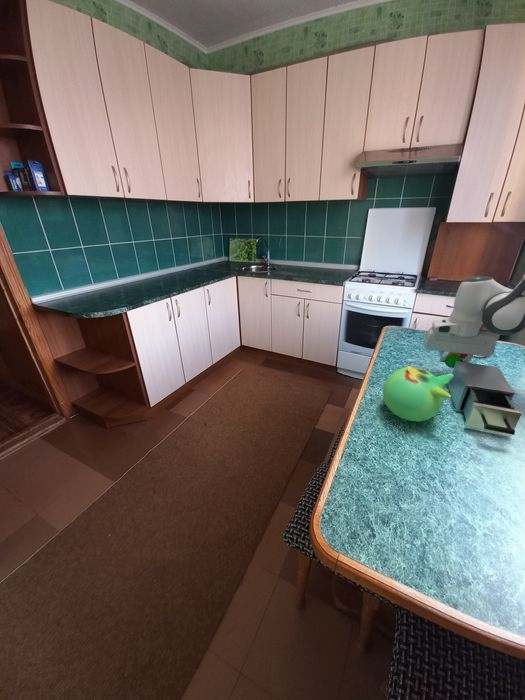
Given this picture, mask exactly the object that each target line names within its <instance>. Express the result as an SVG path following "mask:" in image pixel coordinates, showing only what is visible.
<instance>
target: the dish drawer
mask: <svg viewBox="0 0 525 700" xmlns="http://www.w3.org/2000/svg"><path fill="white" fill-rule="evenodd" d="M461 407H462V409H463V412H462V413H463V415H464V418H465V421H464V428H467V429H472V430H477V431H482V432H489V433H492V434H496V435H500V436H501V435H502V436H505V437H506V436H507V437H512V436H514V435H515V434H516V430H515V429H516V427H517V425H518V423H519V420H520V419H521V416H522V415H523V412H522V410H520V409H515V408H516V407H515V405H514V404H513V402H512V400H510V399H509V397H508V395H507V394H504V393H498V392H492V391H486V390H480V389H474V388H468V389H467V392H466V394H465V397H464V400H463V402H462V405H461Z"/></svg>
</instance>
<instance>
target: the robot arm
mask: <svg viewBox="0 0 525 700" xmlns="http://www.w3.org/2000/svg"><path fill="white" fill-rule="evenodd" d="M449 315H450V316H448V317H443V318H437V319H433V320H432V324H431V327H430V328H429V329H428V330H427V332H426V334H425V336H424V340H423V347H424V348H425V350H430V351H436V352H438V355H439V362H440V363H445V360H446V357H447V355H443V354H445V352H446V353H449V352H454V353H462V354H467V355H468V356H467V357H465V358H462V359H461V362H466V363H469V361H470V360H472V359H473V358H474V357H475V356H474V355H479V356H485V357H487V358H489V357H492V356H493V355H494V353H495V352H496V351H495V350H496V347H497V346H496V345H497V342H498V340H499V339H500V337H501V336H511V335H514V334H518V333H519V332H522V330H524V329H525V276H524V277H523V278H522V279H521V280H520V282H518V284H517V285H516V286H515V287H514V288H513V289H512V288H509V287H507V286H504V285H503V284H501V283H498V282H497V281H496V280H495V279H494V278H493V277H491V276H485V275H477V276H472V277H471V276H470V277H467V278H466V279H464V280H463V281H461V283H460V284H459V286H458V289H457V290H456V294H455V298H454V301H453V310H452V311H451V313H450V314H449ZM482 323H483V325H484V327H485V328H480V327H481V324H482Z"/></svg>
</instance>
